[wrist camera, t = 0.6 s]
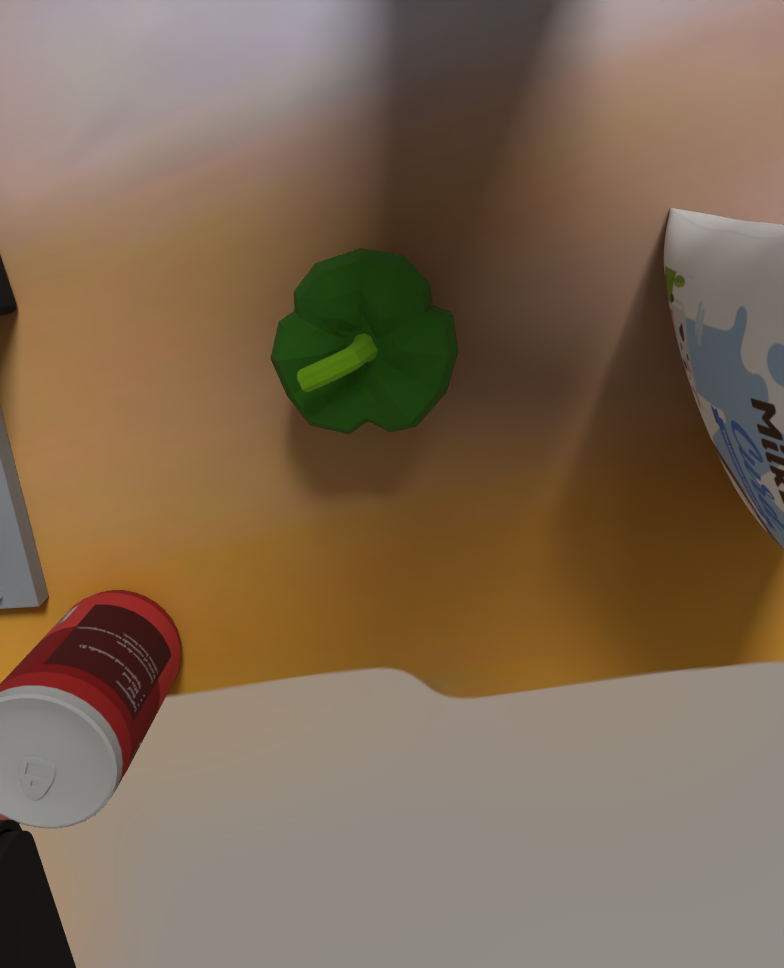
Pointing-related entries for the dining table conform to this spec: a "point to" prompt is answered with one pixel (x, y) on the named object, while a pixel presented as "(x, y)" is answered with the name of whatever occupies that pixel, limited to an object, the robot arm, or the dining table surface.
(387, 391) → the bell pepper
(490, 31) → the dining table surface
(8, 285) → the battery
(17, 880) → the robot arm
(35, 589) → the breaker panel
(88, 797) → the canned food
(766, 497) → the pouch
